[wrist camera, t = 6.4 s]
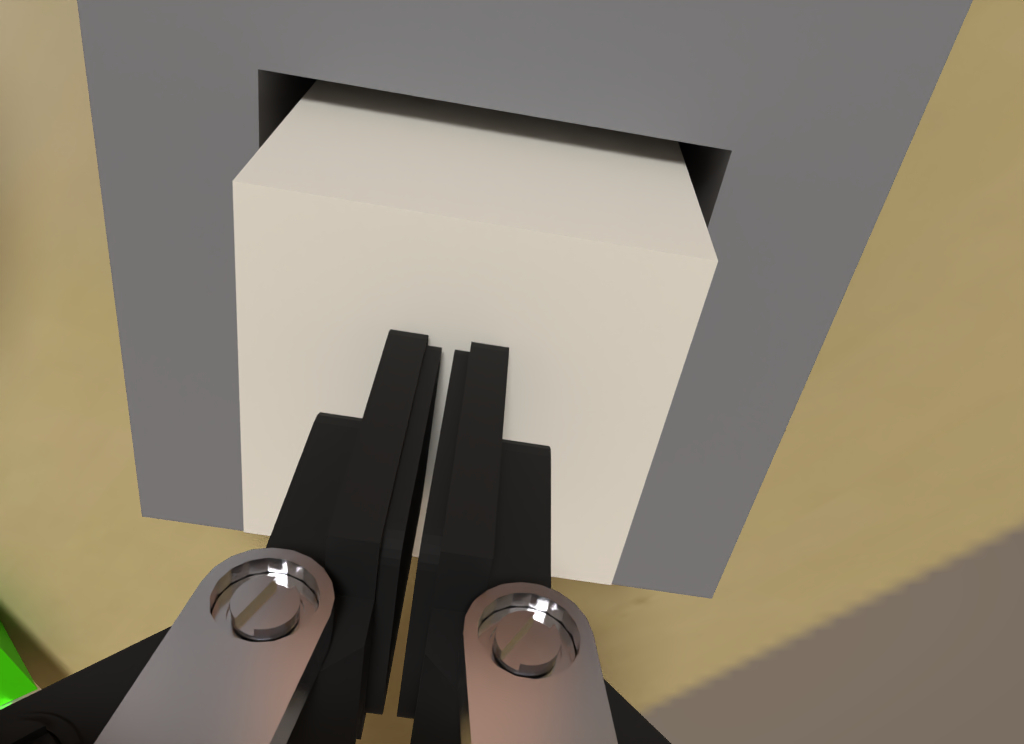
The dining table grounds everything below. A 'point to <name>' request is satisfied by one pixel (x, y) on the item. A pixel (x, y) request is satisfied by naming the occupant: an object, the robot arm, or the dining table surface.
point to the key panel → (534, 92)
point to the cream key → (469, 289)
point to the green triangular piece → (13, 673)
